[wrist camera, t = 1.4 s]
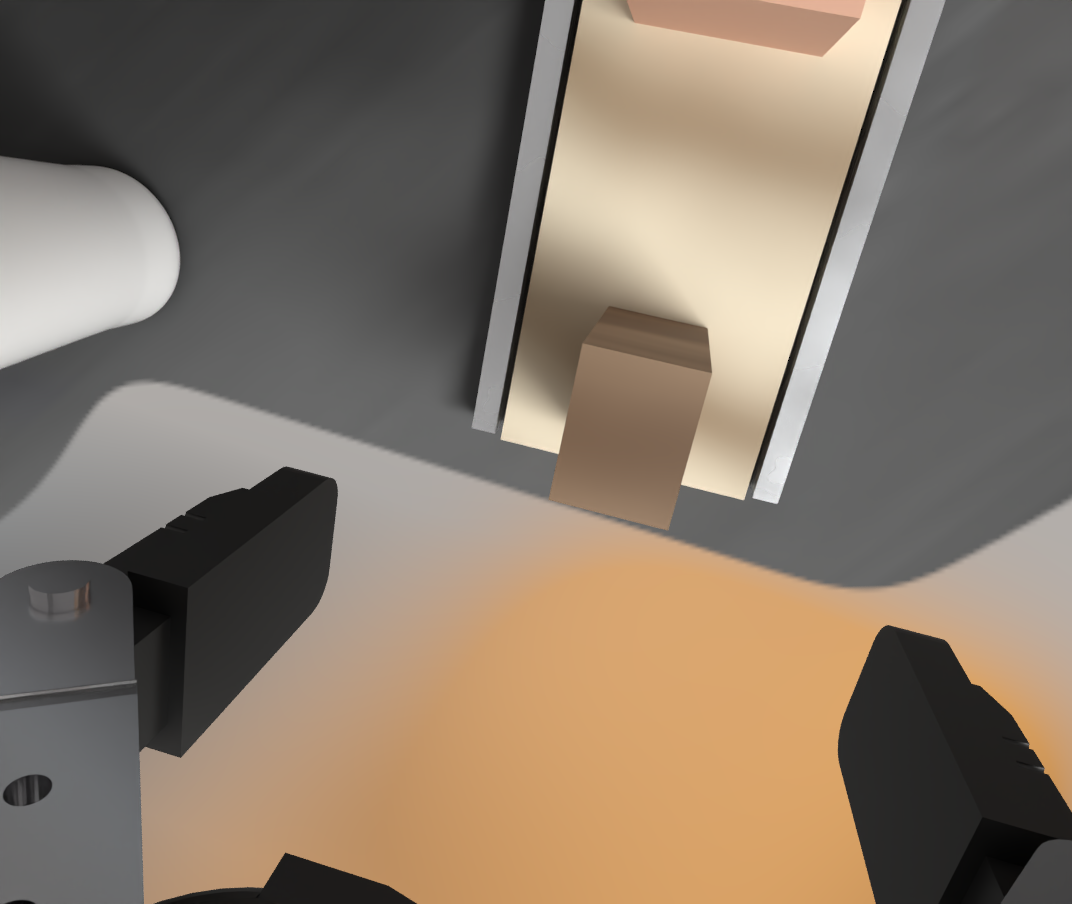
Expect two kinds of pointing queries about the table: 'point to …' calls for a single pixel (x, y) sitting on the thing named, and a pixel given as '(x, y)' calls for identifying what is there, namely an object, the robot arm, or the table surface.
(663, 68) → the birch strip
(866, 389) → the table surface
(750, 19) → the terracotta block
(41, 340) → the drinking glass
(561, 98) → the guide rails
